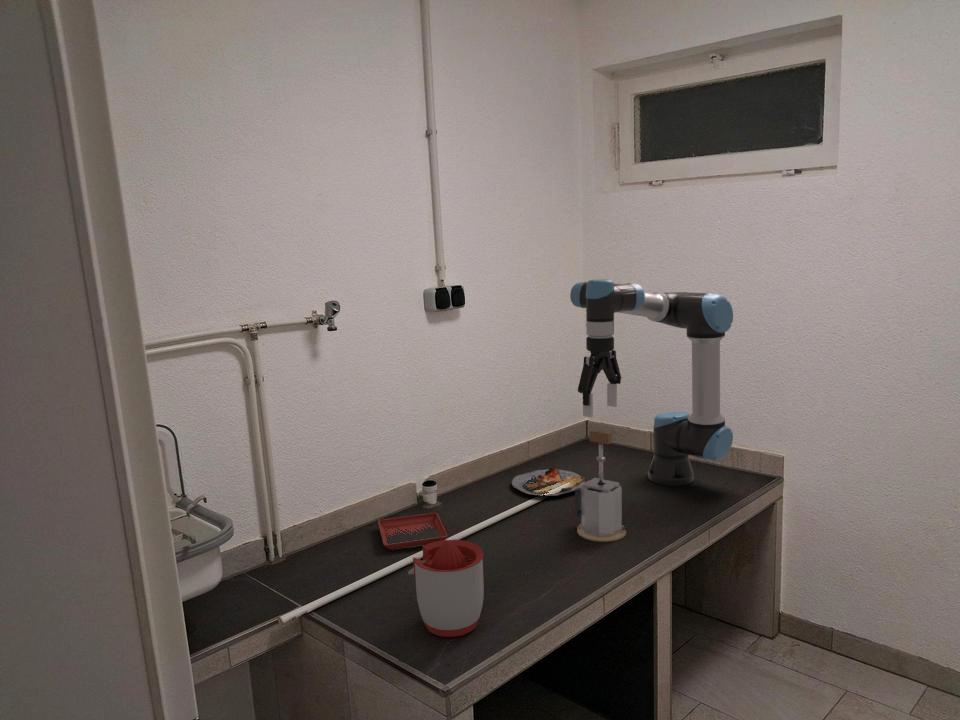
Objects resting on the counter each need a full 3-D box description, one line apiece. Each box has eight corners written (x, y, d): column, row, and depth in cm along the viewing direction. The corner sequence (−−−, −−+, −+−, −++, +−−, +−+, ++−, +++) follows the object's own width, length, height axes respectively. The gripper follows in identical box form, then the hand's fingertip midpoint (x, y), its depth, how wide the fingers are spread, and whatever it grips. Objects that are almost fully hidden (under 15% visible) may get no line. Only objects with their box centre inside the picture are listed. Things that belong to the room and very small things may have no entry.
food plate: (557, 469, 265) (557, 460, 264) (599, 488, 245) (599, 478, 245) (499, 486, 252) (499, 476, 252) (539, 507, 233) (538, 497, 232)
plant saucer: (384, 555, 202) (383, 544, 201) (378, 529, 219) (377, 519, 218) (448, 547, 206) (448, 535, 205) (437, 522, 223) (437, 512, 222)
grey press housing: (589, 517, 221) (588, 471, 218) (634, 529, 212) (634, 481, 209) (564, 533, 210) (563, 485, 208) (611, 546, 201) (611, 496, 198)
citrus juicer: (424, 602, 175) (420, 523, 171) (494, 611, 170) (491, 530, 166) (398, 637, 160) (393, 552, 157) (474, 648, 155) (470, 560, 152)
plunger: (596, 489, 214) (596, 426, 210) (618, 494, 209) (617, 430, 206) (584, 496, 208) (583, 432, 205) (606, 501, 204) (605, 436, 200)
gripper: (609, 329, 212) (610, 400, 216) (564, 341, 193) (565, 419, 197) (633, 331, 208) (633, 403, 211) (589, 343, 189) (589, 423, 192)
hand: (600, 411), depth 204 cm, fingers open, 13 cm apart
